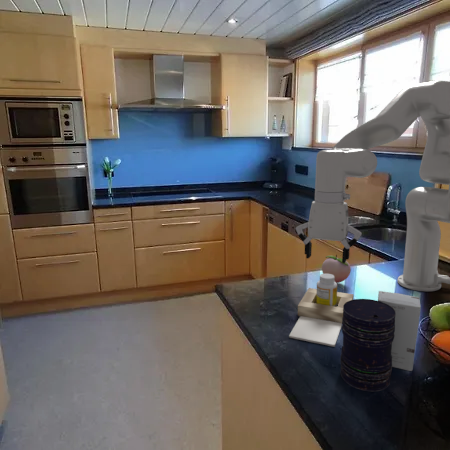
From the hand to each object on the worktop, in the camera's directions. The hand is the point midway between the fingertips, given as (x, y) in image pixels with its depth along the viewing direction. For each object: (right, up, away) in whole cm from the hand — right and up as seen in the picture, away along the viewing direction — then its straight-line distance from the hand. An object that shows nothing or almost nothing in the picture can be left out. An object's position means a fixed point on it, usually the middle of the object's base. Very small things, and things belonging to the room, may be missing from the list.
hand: (326, 259), depth 102 cm
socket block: (+1, -15, +4) cm, 15 cm away
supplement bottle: (+1, -15, +4) cm, 15 cm away
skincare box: (+9, -20, -20) cm, 30 cm away
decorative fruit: (+9, -10, +22) cm, 26 cm away
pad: (-5, -18, -8) cm, 20 cm away
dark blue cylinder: (+1, -22, -25) cm, 34 cm away
